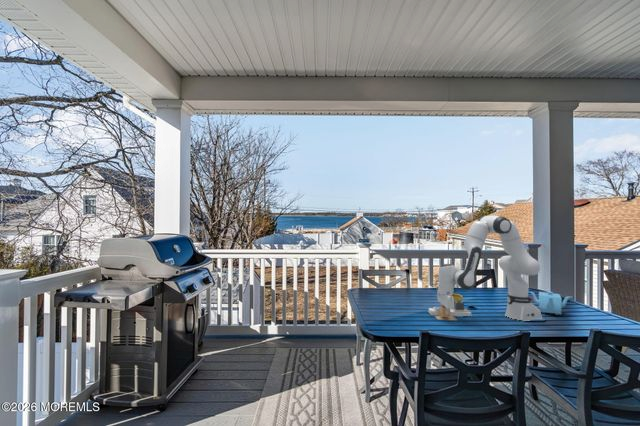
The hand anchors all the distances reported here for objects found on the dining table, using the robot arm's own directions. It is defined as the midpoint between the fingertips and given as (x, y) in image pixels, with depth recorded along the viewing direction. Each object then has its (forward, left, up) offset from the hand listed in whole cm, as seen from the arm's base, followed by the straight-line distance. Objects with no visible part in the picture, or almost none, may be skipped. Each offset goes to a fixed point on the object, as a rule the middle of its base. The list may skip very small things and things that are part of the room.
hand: (445, 312), depth 207 cm
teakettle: (-77, -22, -4) cm, 80 cm away
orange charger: (0, 0, -2) cm, 2 cm away
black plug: (-12, -9, -1) cm, 15 cm away
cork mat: (0, 0, -4) cm, 4 cm away
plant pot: (-13, -22, -4) cm, 26 cm away
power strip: (-6, -9, -4) cm, 12 cm away
